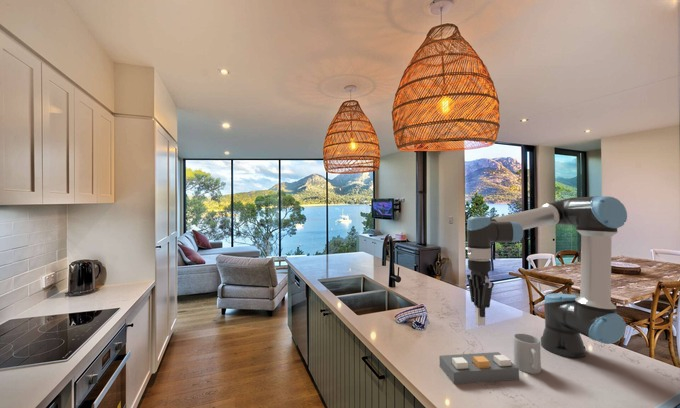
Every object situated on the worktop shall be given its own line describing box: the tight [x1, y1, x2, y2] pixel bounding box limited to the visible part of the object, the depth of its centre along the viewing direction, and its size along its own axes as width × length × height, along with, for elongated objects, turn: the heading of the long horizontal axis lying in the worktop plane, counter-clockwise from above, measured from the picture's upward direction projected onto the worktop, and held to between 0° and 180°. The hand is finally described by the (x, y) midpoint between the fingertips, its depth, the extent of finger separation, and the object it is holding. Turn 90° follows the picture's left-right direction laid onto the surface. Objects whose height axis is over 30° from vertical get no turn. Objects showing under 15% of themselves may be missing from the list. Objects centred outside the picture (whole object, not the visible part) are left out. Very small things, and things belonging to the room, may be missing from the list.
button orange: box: [473, 356, 490, 369], centre depth 100 cm, size 4×4×3 cm
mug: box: [513, 333, 542, 375], centre depth 104 cm, size 12×8×11 cm
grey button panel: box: [438, 351, 520, 385], centre depth 102 cm, size 24×11×6 cm, turn 95°
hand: (480, 324), depth 101 cm, fingers closed
